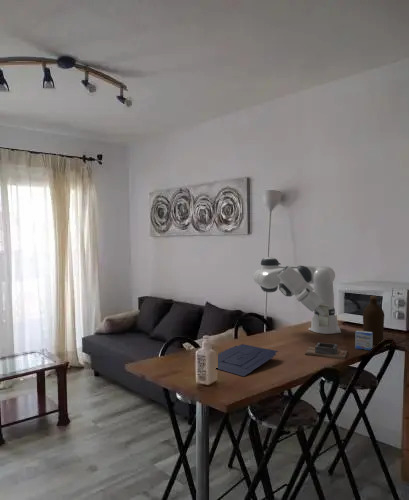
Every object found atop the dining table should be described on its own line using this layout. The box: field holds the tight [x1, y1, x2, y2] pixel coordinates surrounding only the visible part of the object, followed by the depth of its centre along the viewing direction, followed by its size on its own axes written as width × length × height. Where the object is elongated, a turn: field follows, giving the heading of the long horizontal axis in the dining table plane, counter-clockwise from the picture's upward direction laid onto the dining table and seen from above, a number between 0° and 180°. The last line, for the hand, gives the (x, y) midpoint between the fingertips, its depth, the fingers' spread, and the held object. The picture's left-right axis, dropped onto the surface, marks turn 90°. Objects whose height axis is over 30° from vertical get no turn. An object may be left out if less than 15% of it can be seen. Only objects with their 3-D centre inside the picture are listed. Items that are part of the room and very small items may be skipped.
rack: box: [304, 342, 348, 360], centre depth 193 cm, size 12×18×4 cm, turn 65°
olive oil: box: [362, 295, 385, 346], centre depth 213 cm, size 11×11×25 cm
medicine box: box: [354, 330, 374, 351], centre depth 202 cm, size 8×4×9 cm, turn 62°
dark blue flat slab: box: [217, 343, 279, 377], centre depth 180 cm, size 24×30×4 cm
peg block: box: [319, 305, 329, 327], centre depth 193 cm, size 4×4×10 cm
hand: (325, 313), depth 193 cm, fingers closed on peg block, 4 cm apart
